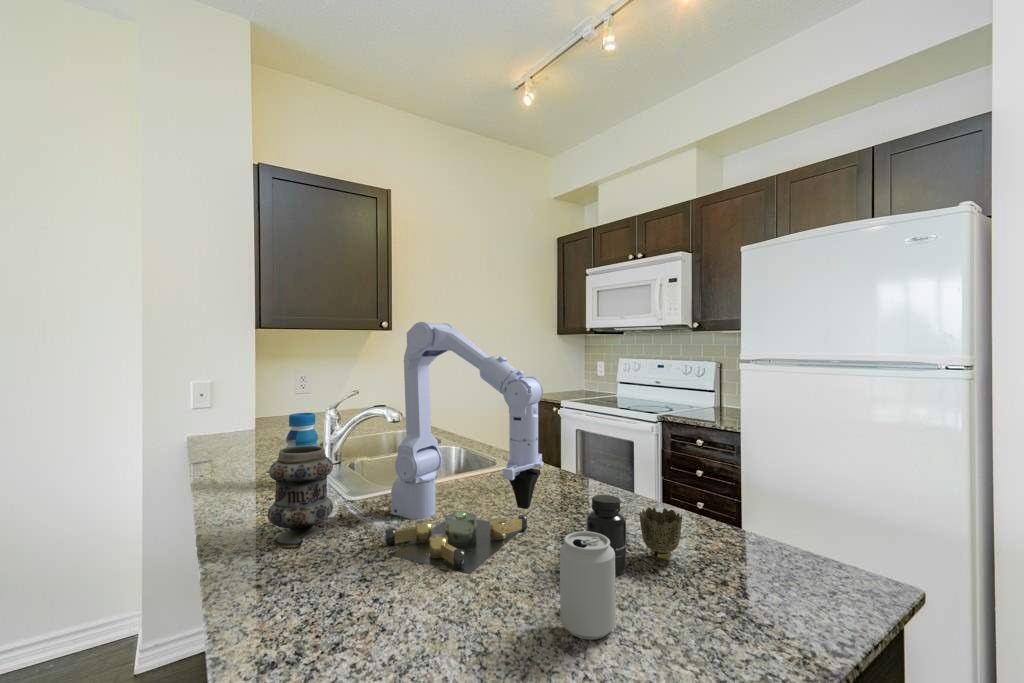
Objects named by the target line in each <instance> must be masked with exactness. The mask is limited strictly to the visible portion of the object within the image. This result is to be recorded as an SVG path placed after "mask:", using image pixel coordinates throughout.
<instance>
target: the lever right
mask: <svg viewBox="0 0 1024 683" xmlns="http://www.w3.org/2000/svg"><path fill="white" fill-rule="evenodd" d="M489 522H490V538H491V539H494V540H501V539H505V538H506V534H508V533H511V532H514V531H517V530H522V531H524V530H527V529H528V516H527V515H526V514H519V515H517V517H514V518H510V519H508V520H506V519H505V518H502V517H495V518H492V519H491V518H490V520H489Z"/></svg>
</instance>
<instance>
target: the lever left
mask: <svg viewBox="0 0 1024 683" xmlns="http://www.w3.org/2000/svg"><path fill="white" fill-rule="evenodd" d="M432 528H433V522H432V520H429V519H420V520H418V521H416V522H415V523H414V526H412V527H411V526H410V527H403V528H397V529H396V528H393V527H392V528H390V527H389V528H387V529H385V545H387V546H392V545H394V544H396V543H401V542H411V541H412V540H416V541H417V542H428V541H430V536H432Z"/></svg>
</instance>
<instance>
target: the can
mask: <svg viewBox="0 0 1024 683" xmlns="http://www.w3.org/2000/svg"><path fill="white" fill-rule="evenodd" d="M563 540H564V542H563V544H562V545H561V546H560V548H559V599H560V600H559V602H560V604H559V607H560V608H559V614H560V615H559V616H560V617H559V618H560V620H559V621H560V623H561V625H562V627H564V628H565V629H567V631H568V633H570V634H571V635H572V636H574V637H577V638H579V639H584V640H591V641H593V640H598V639H599V638H600V639H602V638H604V637H606V636H607V635H608V634H609V633H611V632H612V630H614V629H615V626H616V620H617V618H616V576H615V552H614V550H613V548H612V547H611V546H610V540H609V539H608V538H607V537H606V536H604V535H602V534H599V533H595V532H589V531H584V530H582V531H574V532H570V533H569V534H567V535H565V537H564V538H563Z"/></svg>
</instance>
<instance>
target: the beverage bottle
mask: <svg viewBox="0 0 1024 683" xmlns="http://www.w3.org/2000/svg"><path fill="white" fill-rule="evenodd" d="M315 425H316V414H315V413H313V412H297V413H291V414H289V416H288V426H289V428H290V430H289V431H288V433H287V436H286V439H285V441H286V444H287V445H286V447H285V448H288V447H293V446H305V445H312V446H319V443H318V439H319V435H318V433H317V431H316V429H315V428H314V426H315Z"/></svg>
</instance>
